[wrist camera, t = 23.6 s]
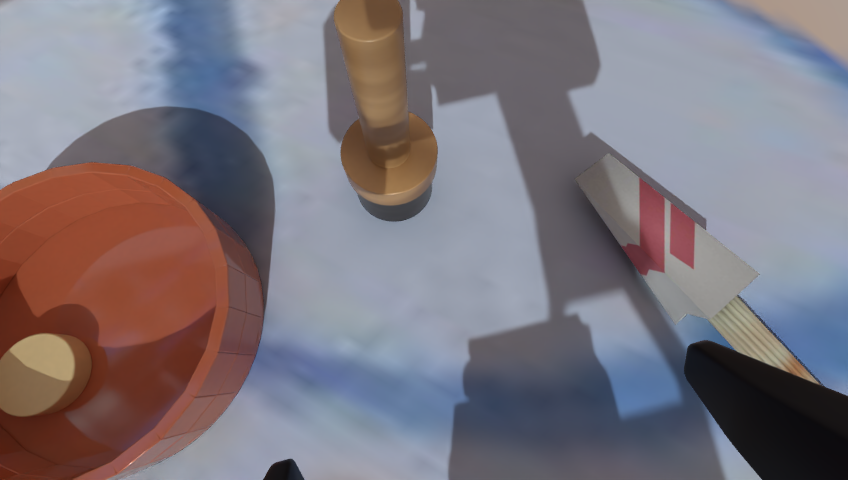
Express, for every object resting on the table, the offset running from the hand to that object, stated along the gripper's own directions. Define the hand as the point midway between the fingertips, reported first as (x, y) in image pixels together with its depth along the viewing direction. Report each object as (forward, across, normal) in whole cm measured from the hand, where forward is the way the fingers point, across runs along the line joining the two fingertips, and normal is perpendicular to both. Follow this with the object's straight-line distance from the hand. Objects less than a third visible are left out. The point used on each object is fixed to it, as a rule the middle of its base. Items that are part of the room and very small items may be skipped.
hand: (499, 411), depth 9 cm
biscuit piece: (+14, +20, +5) cm, 25 cm away
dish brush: (+18, 0, +1) cm, 18 cm away
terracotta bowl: (+15, +17, +4) cm, 23 cm away
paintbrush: (+10, -15, +9) cm, 20 cm away
